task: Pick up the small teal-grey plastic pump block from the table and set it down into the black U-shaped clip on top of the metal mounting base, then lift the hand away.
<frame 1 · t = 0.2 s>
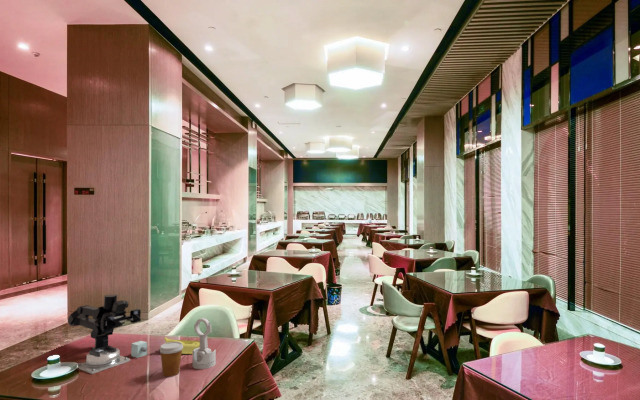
hand: (131, 322, 175), 17 cm above the table, tool horizontal, fingers open, 9 cm apart
metal mounting base: (103, 364, 167), on the table
pump: (139, 355, 177), on the table
plastic component: (185, 351, 184), on the table
engine component: (203, 364, 166), on the table
disposable coffee cup: (171, 374, 156), on the table
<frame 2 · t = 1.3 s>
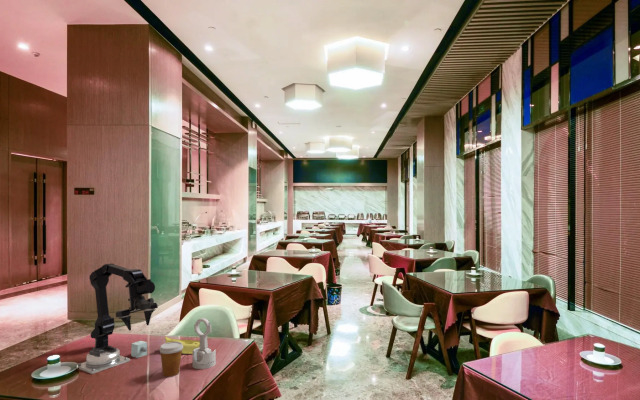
hand: (139, 327, 178), 13 cm above the table, tool pointing down, fingers open, 9 cm apart
nothing on the table moved.
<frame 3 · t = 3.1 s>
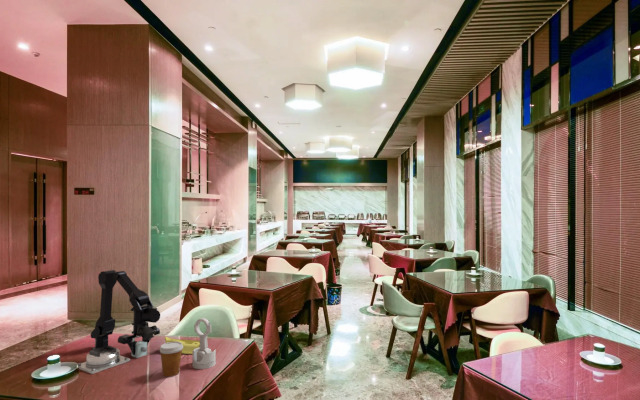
hand: (139, 353, 178), 1 cm above the table, tool pointing down, fingers closed on pump, 5 cm apart
pump: (139, 355, 177), on the table, touching gripper
everything else where it was.
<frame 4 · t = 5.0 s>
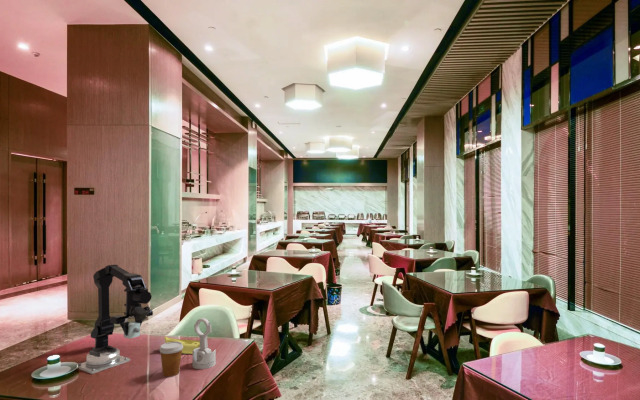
hand: (131, 334, 176), 11 cm above the table, tool pointing down, fingers closed on pump, 5 cm apart
pump: (131, 336, 176), point 10 cm above the table, touching gripper
everything else where it was.
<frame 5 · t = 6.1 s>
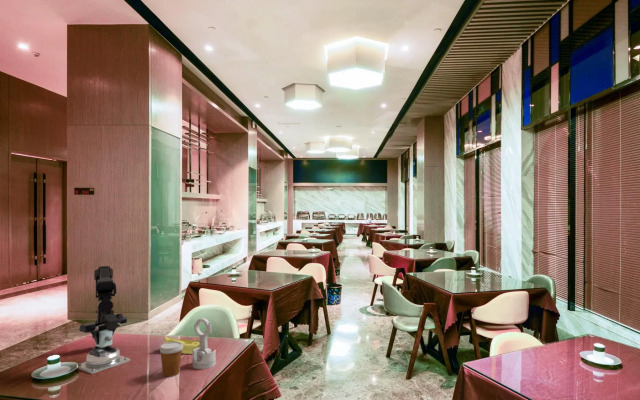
hand: (103, 342, 167), 10 cm above the table, tool pointing down, fingers closed on pump, 5 cm apart
pump: (103, 345, 167), point 9 cm above the table, touching gripper
everything else where it was.
when the fingers open (7 cm above the table, at t = 7.0 s): pump stays where it is, resting on metal mounting base.
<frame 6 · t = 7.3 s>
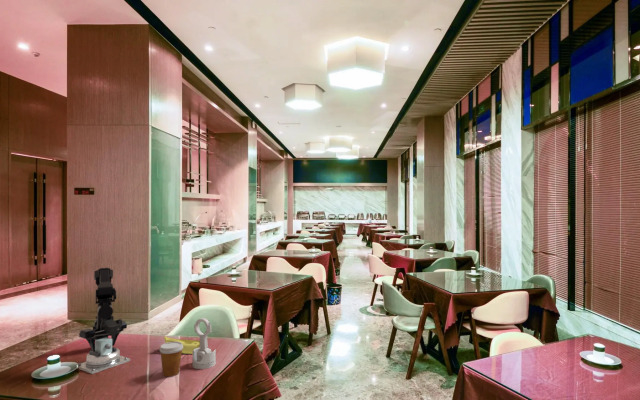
hand: (103, 348, 167), 7 cm above the table, tool pointing down, fingers open, 8 cm apart
pump: (103, 352, 167), point 5 cm above the table, touching metal mounting base
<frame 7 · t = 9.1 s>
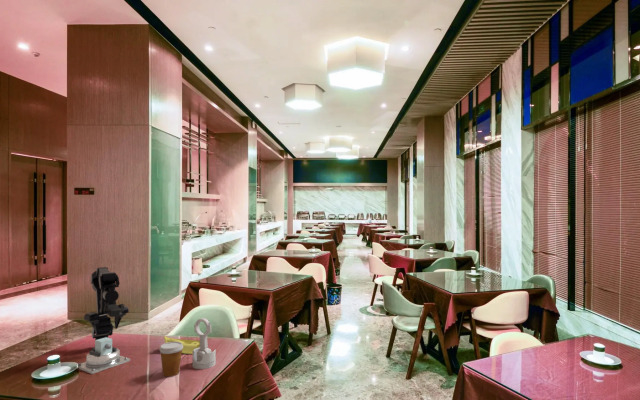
hand: (106, 331, 178), 12 cm above the table, tool pointing down, fingers open, 9 cm apart
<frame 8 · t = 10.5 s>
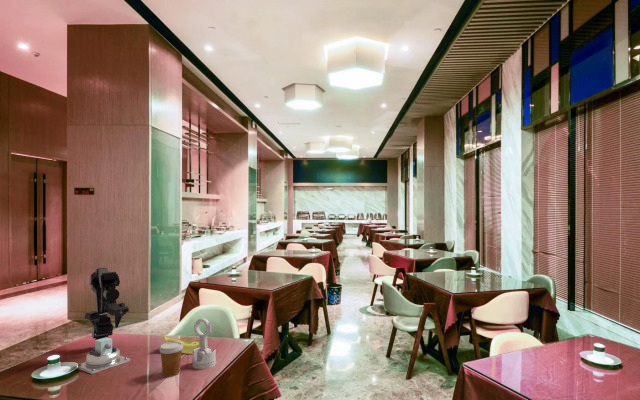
hand: (107, 330, 178), 12 cm above the table, tool pointing down, fingers open, 9 cm apart
at the end: pump 0.0 cm off-centre on the metal mounting base, point 5.0 cm above the metal mounting base's base; pump tilted 0°; the gripper is holding nothing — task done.
